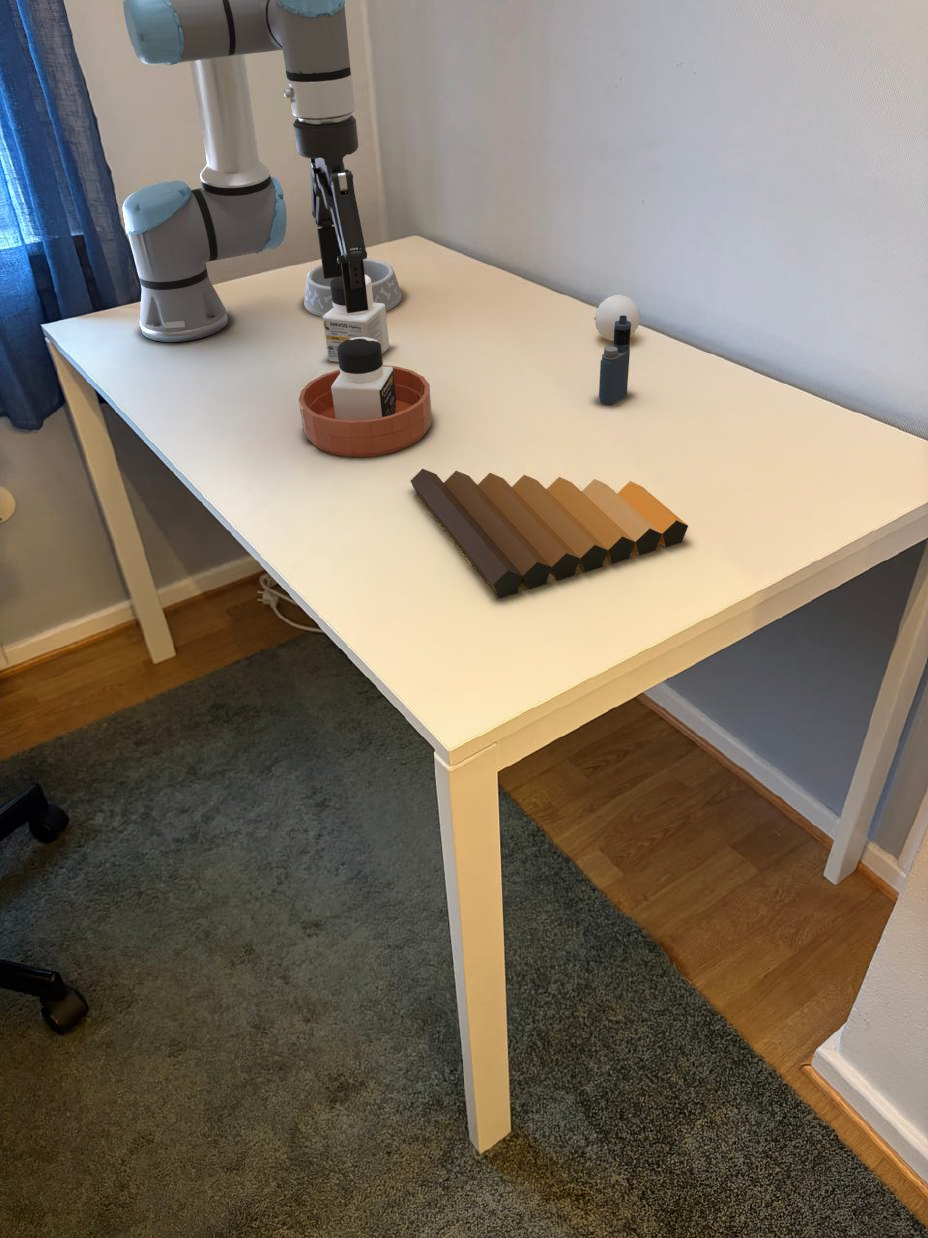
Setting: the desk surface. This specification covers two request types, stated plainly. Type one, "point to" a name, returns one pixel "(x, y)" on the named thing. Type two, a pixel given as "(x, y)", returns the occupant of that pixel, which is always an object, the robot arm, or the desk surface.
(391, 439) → the bowl
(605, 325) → the white egg
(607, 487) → the pan flute
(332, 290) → the container
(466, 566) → the desk surface
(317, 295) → the dog bowl
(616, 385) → the vaping device
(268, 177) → the robot arm
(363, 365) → the medicine bottle
